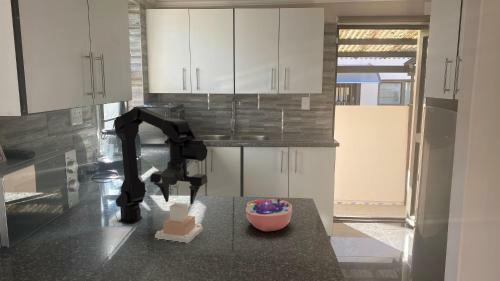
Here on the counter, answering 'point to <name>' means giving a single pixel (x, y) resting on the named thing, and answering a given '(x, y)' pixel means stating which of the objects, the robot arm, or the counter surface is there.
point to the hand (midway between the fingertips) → (179, 203)
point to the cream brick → (178, 212)
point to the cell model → (269, 214)
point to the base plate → (180, 238)
